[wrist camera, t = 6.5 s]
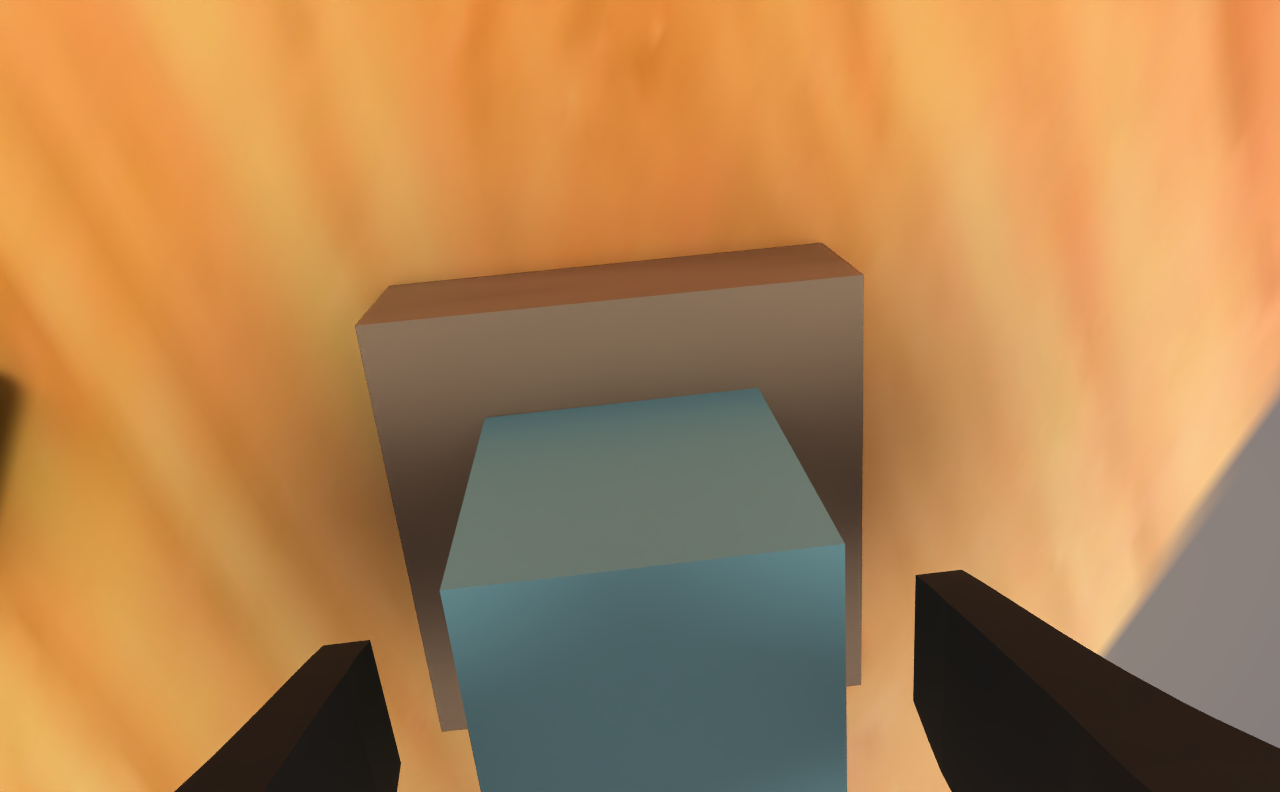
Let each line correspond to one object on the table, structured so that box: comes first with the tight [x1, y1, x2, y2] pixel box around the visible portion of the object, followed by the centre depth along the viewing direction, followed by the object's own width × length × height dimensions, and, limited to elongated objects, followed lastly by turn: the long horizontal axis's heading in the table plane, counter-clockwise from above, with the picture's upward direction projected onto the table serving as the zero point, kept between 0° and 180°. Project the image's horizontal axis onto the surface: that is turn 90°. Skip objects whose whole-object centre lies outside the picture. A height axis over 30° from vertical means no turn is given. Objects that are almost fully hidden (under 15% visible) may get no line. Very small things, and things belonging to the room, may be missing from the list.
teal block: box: [440, 388, 847, 792], centre depth 13 cm, size 4×4×5 cm
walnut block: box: [355, 243, 864, 732], centre depth 17 cm, size 8×8×3 cm
